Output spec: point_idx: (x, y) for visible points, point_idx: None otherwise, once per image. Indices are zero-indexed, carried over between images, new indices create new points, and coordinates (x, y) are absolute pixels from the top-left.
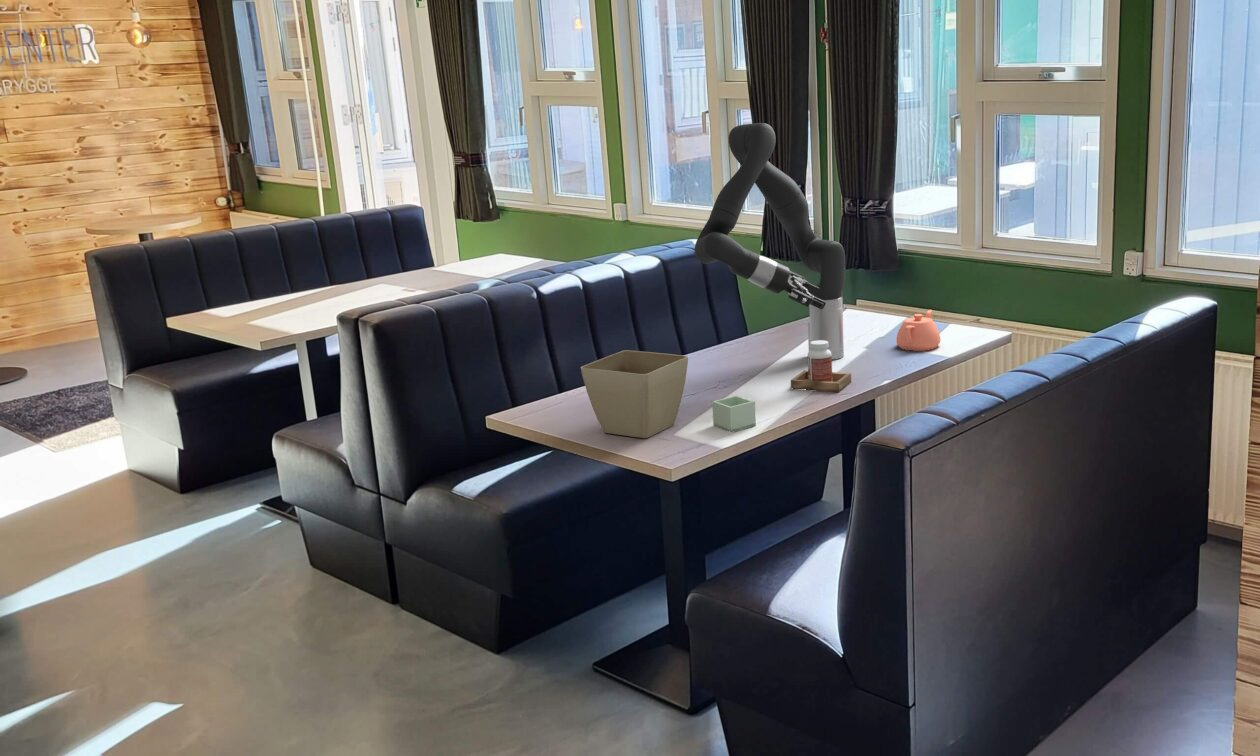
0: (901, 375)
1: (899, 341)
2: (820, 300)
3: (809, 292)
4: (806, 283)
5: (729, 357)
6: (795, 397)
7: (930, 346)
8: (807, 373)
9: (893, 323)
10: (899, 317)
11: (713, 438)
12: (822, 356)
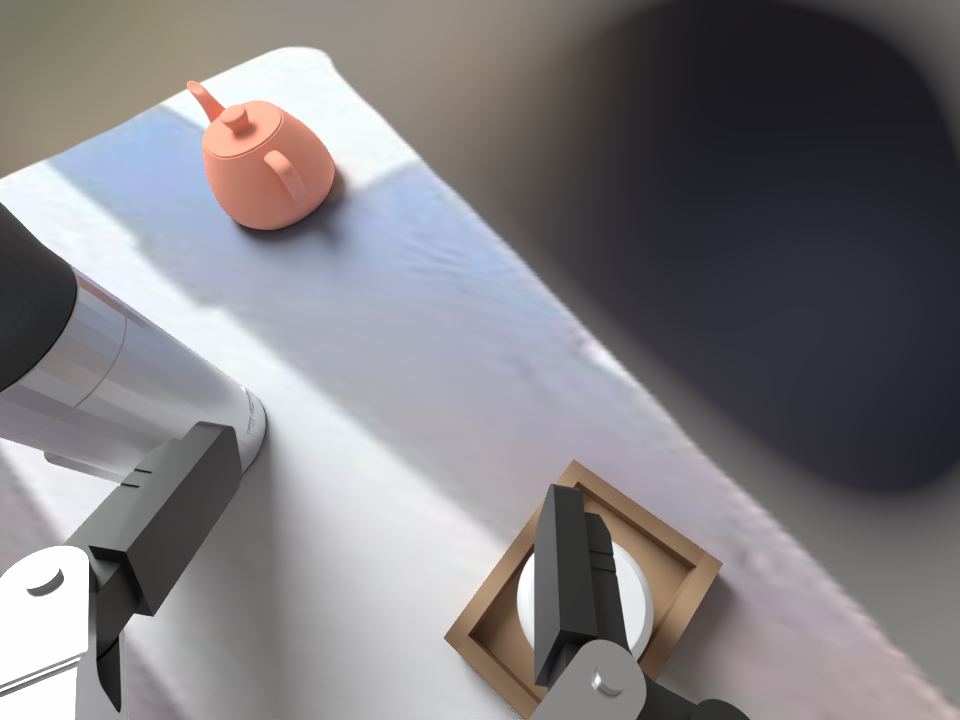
0: (547, 299)
1: (267, 218)
2: (586, 546)
3: (197, 546)
4: (96, 576)
5: None
6: None
7: (334, 168)
8: (472, 629)
9: (55, 190)
10: (23, 169)
11: None
12: (652, 608)
